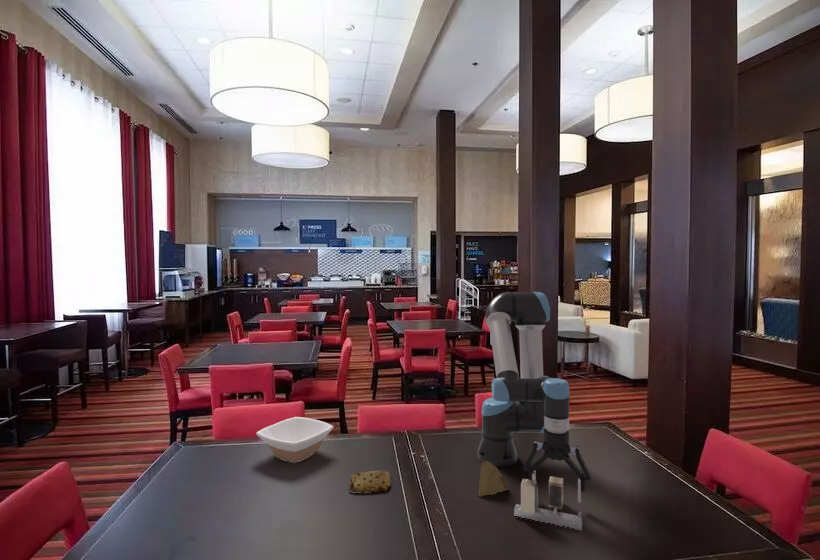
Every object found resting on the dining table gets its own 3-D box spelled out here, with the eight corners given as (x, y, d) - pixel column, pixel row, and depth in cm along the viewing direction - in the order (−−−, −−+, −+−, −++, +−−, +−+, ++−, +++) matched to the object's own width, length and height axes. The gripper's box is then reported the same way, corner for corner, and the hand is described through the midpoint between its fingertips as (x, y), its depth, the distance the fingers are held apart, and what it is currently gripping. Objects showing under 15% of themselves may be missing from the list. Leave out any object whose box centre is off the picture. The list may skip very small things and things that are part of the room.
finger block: (548, 507, 143) (548, 482, 142) (549, 500, 147) (549, 476, 146) (561, 510, 141) (562, 484, 141) (563, 503, 145) (563, 478, 145)
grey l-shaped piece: (513, 517, 137) (514, 483, 137) (516, 510, 141) (516, 477, 140) (581, 531, 130) (582, 495, 129) (582, 523, 134) (582, 488, 133)
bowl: (339, 450, 187) (338, 425, 186) (293, 474, 166) (293, 446, 165) (297, 438, 199) (297, 414, 199) (250, 459, 179) (250, 433, 178)
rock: (509, 477, 158) (480, 470, 160) (512, 464, 152) (482, 458, 154) (506, 508, 150) (475, 501, 152) (509, 496, 144) (477, 489, 146)
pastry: (404, 483, 159) (404, 475, 159) (367, 503, 147) (367, 494, 147) (371, 468, 171) (371, 460, 171) (334, 485, 159) (333, 477, 158)
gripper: (513, 428, 144) (513, 494, 145) (599, 439, 135) (599, 510, 135) (517, 420, 151) (517, 484, 152) (599, 430, 142) (599, 498, 142)
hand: (556, 496), depth 144 cm, fingers open, 13 cm apart
